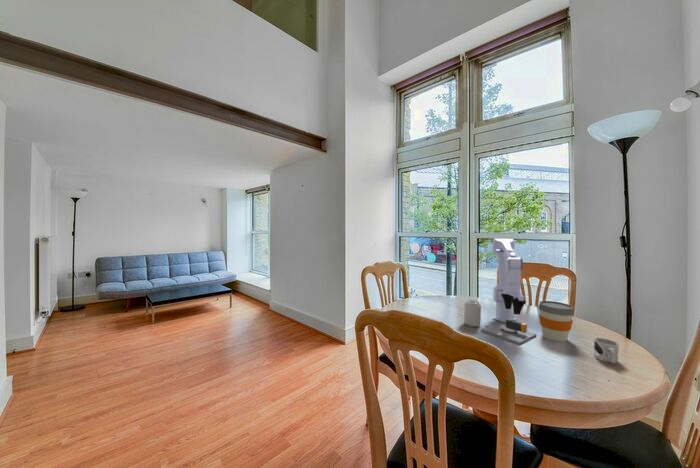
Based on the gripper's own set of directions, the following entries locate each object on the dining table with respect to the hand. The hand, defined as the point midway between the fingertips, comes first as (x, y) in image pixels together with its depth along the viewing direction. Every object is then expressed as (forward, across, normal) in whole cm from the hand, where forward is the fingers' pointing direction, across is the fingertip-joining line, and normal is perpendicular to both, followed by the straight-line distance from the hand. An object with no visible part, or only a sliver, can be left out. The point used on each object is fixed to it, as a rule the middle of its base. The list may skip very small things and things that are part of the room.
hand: (512, 311), depth 124 cm
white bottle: (+10, -9, -15) cm, 20 cm away
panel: (+10, +1, -2) cm, 11 cm away
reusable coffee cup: (+10, +3, +17) cm, 20 cm away
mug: (+10, +23, +23) cm, 34 cm away
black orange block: (+9, +1, 0) cm, 9 cm away
